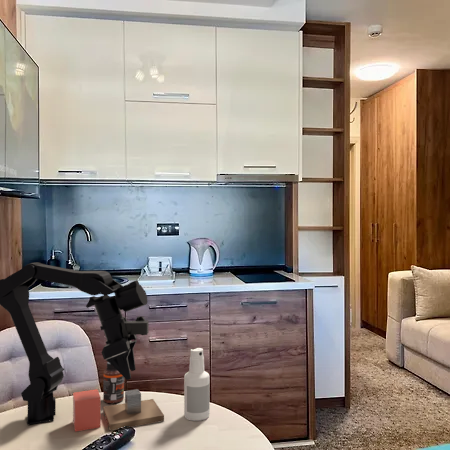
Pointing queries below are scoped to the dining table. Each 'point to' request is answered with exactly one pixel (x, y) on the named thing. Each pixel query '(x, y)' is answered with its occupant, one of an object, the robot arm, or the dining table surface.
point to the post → (133, 401)
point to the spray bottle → (196, 388)
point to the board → (132, 415)
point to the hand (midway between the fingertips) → (131, 374)
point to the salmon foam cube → (86, 410)
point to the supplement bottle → (113, 385)
